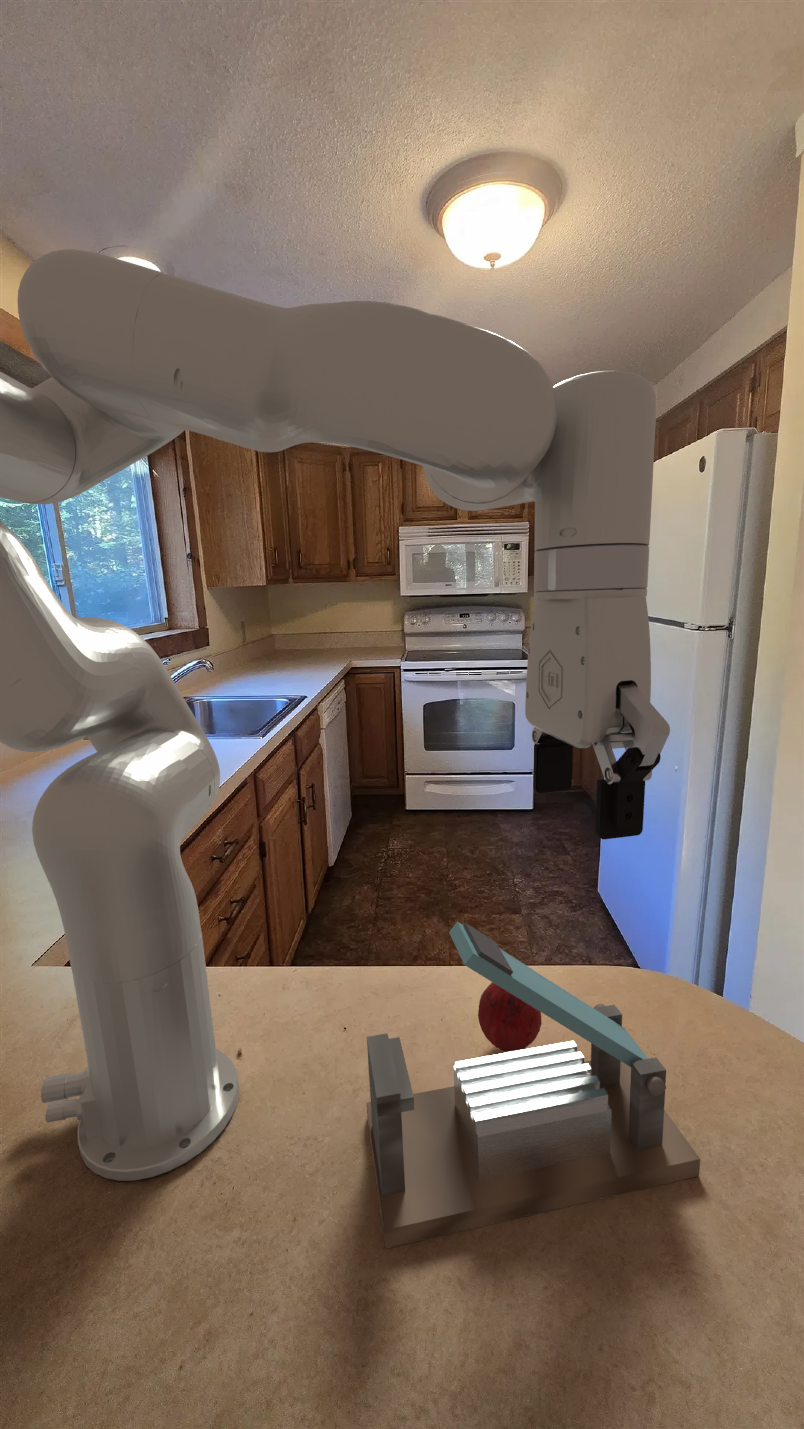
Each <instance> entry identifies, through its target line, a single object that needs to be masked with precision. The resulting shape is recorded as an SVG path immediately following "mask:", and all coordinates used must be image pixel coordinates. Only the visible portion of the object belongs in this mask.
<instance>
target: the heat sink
mask: <svg viewBox="0 0 804 1429" xmlns="http://www.w3.org/2000/svg"><path fill="white" fill-rule="evenodd" d="M584 1062H585V1056H584V1055H583V1053H582V1051H578V1045H577V1044H576V1042H575V1040H570V1041H569V1040H568V1041H565V1042H558V1043H553V1044H548V1045H543V1046H536V1047H530V1048H525V1049H523V1050H519V1051H513V1052H507V1051H506V1052H503V1053H498V1054H492V1055H485V1056H480V1057H475V1058H470V1059H464V1060H458V1061H455V1062H454V1065H453V1085H454V1095H455V1107H456V1111H457V1114H458V1117H459V1120H460V1123H461V1126H462V1130H463V1133H464V1136H465V1139H466V1142H467V1145H468V1148H469V1152H470V1155H471V1158H472V1161H473V1164H474V1167H475V1171H476V1174H477V1177H478V1180H479V1181H482V1180H487V1179H491V1178H496V1177H501V1176H505V1175H510V1174H514V1173H519V1172H524V1171H528V1170H533V1169H537V1168H542V1167H547V1166H551V1165H556V1164H560V1163H565V1162H570V1161H574V1160H579V1159H583V1158H588V1157H593V1156H597V1155H602V1154H606V1153H610V1140H611V1108H610V1107H609V1105H608V1094H607V1092H606V1091H605V1089H604V1088H602V1089H600V1081H599V1080H598V1078H597V1076H596V1075H594V1076H592V1069H591V1067H590V1065H589V1064H588V1063H586V1064H584Z"/></svg>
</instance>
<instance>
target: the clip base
mask: <svg viewBox="0 0 804 1429" xmlns="http://www.w3.org/2000/svg"><path fill="white" fill-rule="evenodd" d="M593 1008H594V1009H595V1010H597V1011H599V1012H600V1013H602V1014H603V1015H605V1016H606V1017H608V1018H610V1019H611V1020H613V1021H614V1022H616V1023H617V1024H619V1025H620V1026H622V1027H623V1013H622V1012H621V1011H620V1010H619V1009H618V1007H617V1005H616V1004H610V1005H606V1004H604V1003H597V1004H596V1005H594V1007H593ZM400 1038H401V1037H400V1036H398V1037H396V1036H395V1037H391V1038H389V1033H388V1032H386V1033H382V1034H375V1035H369V1036H368V1035H367V1036H366V1047H367V1062H368V1064H367V1065H368V1081H369V1091H370V1092H369V1093H370V1094H369V1096H370V1101H369V1102H366V1114H367V1116H366V1118H367V1125H368V1126H367V1127H368V1132H369V1139H370V1148H371V1153H372V1160H373V1169H374V1175H375V1176H374V1177H375V1183H376V1190H377V1196H378V1205H379V1211H380V1219H381V1226H382V1234H383V1240H384V1246H385V1249H388V1248H389V1249H390V1248H394V1247H397V1246H403V1245H407V1244H410V1243H414V1242H421V1241H424V1240H429V1239H432V1238H436V1237H437V1238H438V1237H441V1236H446V1235H448V1234H449V1235H450V1234H455V1233H458V1232H462V1231H467V1230H471V1229H475V1228H476V1229H477V1228H480V1227H485V1226H488V1225H489V1226H490V1225H493V1224H497V1223H502V1222H506V1221H511V1220H515V1219H519V1218H523V1217H528V1216H533V1215H536V1214H541V1213H545V1212H550V1211H553V1210H558V1209H563V1208H566V1207H571V1206H576V1205H579V1204H584V1203H587V1202H589V1203H590V1202H593V1201H596V1200H597V1201H598V1200H602V1199H606V1198H610V1197H613V1196H614V1197H615V1196H619V1195H623V1194H628V1193H632V1192H635V1191H641V1190H644V1189H649V1188H654V1187H657V1186H662V1185H667V1184H670V1183H674V1182H679V1181H683V1180H688V1179H693V1178H696V1177H700V1166H701V1158H700V1157H699V1155H698V1154H697V1153H696V1151H695V1150H694V1148H693V1147H692V1146H691V1144H690V1143H689V1142H688V1140H687V1139H686V1138H685V1136H684V1134H683V1133H682V1132H681V1130H680V1129H679V1127H678V1126H677V1125H676V1123H675V1122H674V1121H673V1120H672V1118H671V1116H670V1115H669V1114H668V1113H667V1111H666V1110H665V1100H666V1089H667V1086H666V1083H667V1082H666V1081H667V1080H666V1079H667V1069H666V1067H665V1066H664V1065H663V1064H662V1062H661V1061H660V1060H659V1059H658V1058H657V1056H654V1057H651V1058H650V1057H648V1059H644V1060H639V1061H634V1062H631V1067H630V1066H628V1065H626V1064H625V1063H623V1062H621V1061H620V1060H618V1059H617V1058H615V1057H613V1056H612V1055H610V1054H608V1053H607V1052H605V1051H604V1050H602V1049H600V1048H599V1047H597V1046H595V1045H594V1044H592V1043H591V1042H590V1043H591V1045H590V1060H587V1061H584V1064H586V1063H588V1064H589V1065H590V1067H591V1069H592V1076H594V1075H596V1076H597V1078H598V1080H599V1081H600V1089H602V1088H604V1089H605V1091H606V1092H607V1094H608V1105H609V1107H610V1108H611V1140H610V1153H606V1154H602V1155H597V1156H593V1157H588V1158H583V1159H579V1160H574V1161H570V1162H565V1163H560V1164H556V1165H551V1166H547V1167H542V1168H537V1169H533V1170H528V1171H524V1172H519V1173H514V1174H510V1175H505V1176H501V1177H496V1178H491V1179H487V1180H482V1181H479V1180H478V1177H477V1174H476V1171H475V1167H474V1164H473V1161H472V1158H471V1155H470V1152H469V1148H468V1145H467V1142H466V1139H465V1136H464V1133H463V1130H462V1126H461V1123H460V1120H459V1117H458V1114H457V1111H456V1107H455V1095H454V1086H449V1087H444V1088H438V1089H432V1090H427V1091H422V1092H417V1093H413V1089H412V1084H411V1083H412V1082H411V1080H410V1076H409V1072H408V1071H409V1070H408V1069H407V1068H408V1067H407V1062H406V1058H405V1055H404V1050H403V1045H402V1042H401V1039H400Z"/></svg>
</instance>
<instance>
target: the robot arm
mask: <svg viewBox="0 0 804 1429" xmlns="http://www.w3.org/2000/svg"><path fill="white" fill-rule="evenodd" d="M17 313H18V318H19V319H18V320H19V323H20V327H21V331H22V334H23V336H24V339H25V341H26V343H27V345H28V347H29V348H30V351H31V353H32V354H33V356H34V357H35V359H36V360H37V361H38V363H39V364H40V366H41V367H42V369H44V370H45V371H46V372H47V373H48V374H49V375H50V377H49V378H47V379H46V380H44V381H43V382H41V383H39V384H38V385H36V386H34V387H29V386H27V385H26V384H23V383H21V382H20V381H18V380H17V379H15V378H13V377H11V376H9V375H8V374H6V373H4V372H2V371H0V498H1V499H2V498H3V499H7V500H10V501H14V502H18V503H23V504H28V505H29V504H30V505H50V504H56V503H61V502H64V501H67V500H71V499H72V498H75V497H77V496H78V495H81V494H82V493H84V492H86V491H88V490H90V489H91V488H94V487H95V486H96V485H98V484H100V483H101V482H103V481H105V480H107V479H109V478H111V477H113V476H114V475H116V474H117V473H119V472H122V471H123V470H125V469H127V468H128V467H130V466H131V465H133V464H136V462H139V461H140V460H143V458H146V457H147V456H149V455H151V454H153V453H154V452H156V451H157V450H159V449H161V448H162V447H163V446H165V445H167V444H168V443H169V442H171V441H173V440H175V439H176V438H177V437H178V436H180V435H182V433H183V432H185V431H186V430H187V431H190V432H193V433H196V434H200V435H203V436H207V437H210V438H214V439H216V440H219V441H223V442H225V443H230V444H233V445H235V446H239V447H242V448H245V449H249V450H253V451H256V452H262V453H277V452H282V451H284V450H286V449H290V448H291V447H293V446H296V445H300V444H307V443H326V444H327V443H328V444H336V445H342V446H348V447H351V448H352V447H353V448H356V449H361V450H365V451H370V452H374V453H378V454H381V455H384V456H388V457H390V458H391V457H392V458H395V459H399V460H403V461H406V462H409V463H413V464H416V465H418V466H422V470H423V473H424V477H425V479H426V482H427V485H428V487H429V488H430V489H431V491H432V492H433V494H435V496H436V497H437V498H438V499H439V500H440V501H442V502H443V503H445V504H446V505H448V506H451V507H453V508H455V509H458V510H462V511H469V512H471V511H472V512H473V511H475V512H476V511H477V512H478V511H486V510H487V511H488V510H492V509H498V508H504V507H508V506H515V505H519V504H527V503H532V502H534V557H533V558H534V560H533V562H534V563H533V566H534V567H533V568H534V569H533V577H534V578H533V600H534V601H535V603H534V608H533V613H532V619H531V625H530V632H529V633H530V634H529V641H528V653H527V666H526V667H527V668H526V683H525V704H524V706H525V710H524V712H525V713H524V714H525V718H526V720H527V721H528V723H529V724H530V725H531V726H533V729H532V731H531V739H532V742H533V744H534V745H533V786H532V787H533V791H535V792H536V793H538V794H544V793H553V792H562V791H563V792H564V791H569V790H571V789H572V786H573V754H574V753H573V751H574V748H577V749H587V748H590V747H591V746H592V747H593V749H594V752H595V755H596V758H597V761H598V764H599V767H600V770H601V773H602V775H603V778H604V779H603V778H602V779H597V780H596V800H595V801H596V803H595V806H596V807H595V829H594V830H595V831H594V833H595V835H596V836H597V837H599V839H601V840H611V839H618V838H626V837H633V836H634V837H637V836H640V835H641V834H642V833H643V830H644V814H645V813H644V811H645V795H646V781H649V780H651V778H652V776H653V770H654V769H655V768H656V767H657V765H659V764H660V762H661V758H662V757H661V753H662V751H663V749H664V746H665V744H666V742H667V740H668V738H669V736H670V733H671V727H670V724H669V723H668V721H667V720H666V718H664V716H662V715H661V713H660V712H659V711H658V710H657V709H656V708H655V707H654V705H653V704H652V703H651V693H652V691H651V690H652V662H651V658H652V657H651V653H652V652H651V635H650V622H649V610H648V603H647V595H648V582H649V581H648V580H649V560H650V539H651V519H652V518H651V517H652V500H653V483H654V463H655V462H654V461H655V459H654V458H655V444H656V442H655V441H656V440H655V439H656V425H657V424H656V421H657V396H656V395H657V394H656V391H655V389H654V387H653V385H652V383H651V382H650V381H649V379H647V378H646V377H644V376H643V375H641V374H639V373H636V372H631V371H627V370H626V371H625V370H600V371H593V372H588V373H584V374H579V375H576V376H573V377H570V378H567V379H564V380H562V381H560V382H558V383H557V384H555V385H553V383H552V380H551V378H550V376H549V375H548V373H547V371H546V370H545V369H544V367H543V366H542V364H541V363H540V362H539V361H538V360H537V359H536V358H535V357H534V356H533V355H532V354H531V353H530V352H528V351H527V349H524V348H523V347H521V346H520V345H518V344H516V343H515V342H513V341H512V340H510V339H507V338H505V337H503V336H501V335H499V334H497V333H494V332H492V331H489V330H486V329H483V328H481V327H477V326H475V325H471V324H468V323H464V322H462V321H458V320H455V319H451V318H448V317H446V316H442V315H439V314H436V313H432V312H429V311H426V310H422V309H418V308H414V307H412V306H411V307H410V306H407V305H404V304H396V303H390V302H384V301H377V300H376V301H374V300H372V301H371V300H352V301H341V302H340V301H339V302H324V303H310V304H309V303H308V304H303V305H299V306H294V307H293V306H292V307H284V306H283V307H282V306H278V305H275V304H274V305H273V304H270V303H266V302H262V301H259V300H255V299H252V298H248V297H245V296H242V295H239V294H234V293H231V292H228V291H225V290H221V289H219V288H215V287H212V286H208V285H204V284H202V283H198V282H195V281H191V280H189V279H184V278H181V277H178V276H176V275H171V274H169V273H166V272H162V271H159V270H156V269H153V268H148V267H147V266H146V267H145V266H142V265H139V264H135V263H132V262H129V261H126V260H123V259H118V258H115V257H112V256H110V255H109V256H108V255H105V254H101V253H98V252H92V251H86V250H81V249H59V250H54V251H50V252H48V253H46V254H43V255H41V256H40V257H38V258H37V259H35V260H34V261H33V262H32V263H30V265H29V266H28V268H27V269H26V271H25V272H24V274H23V276H22V277H21V279H20V281H19V286H18V290H17ZM86 738H87V739H88V740H89V742H90V743H91V745H92V746H93V748H94V749H95V751H96V752H94V753H92V754H90V755H88V756H86V757H84V758H81V759H80V760H79V761H77V762H75V763H74V764H71V766H69V767H68V768H66V769H65V770H64V771H63V772H61V773H60V774H59V775H57V777H55V778H54V779H53V781H52V782H51V783H50V784H49V785H48V787H47V788H46V789H45V790H44V792H42V795H41V796H40V798H39V800H38V802H37V804H36V807H35V810H34V812H33V818H32V827H31V828H32V829H31V830H32V831H31V833H32V840H33V845H34V848H35V853H36V856H37V858H38V860H39V862H40V865H41V867H42V868H41V869H42V870H43V872H44V874H45V877H46V879H47V881H48V883H49V886H50V887H51V891H52V894H53V896H54V899H55V901H56V905H57V908H58V912H59V914H60V915H59V916H60V917H61V922H62V926H63V932H64V936H65V941H66V947H67V953H68V958H69V959H68V960H69V963H70V968H71V973H72V978H73V984H74V989H75V995H76V996H75V997H76V1001H77V1007H78V1013H79V1019H80V1026H81V1030H82V1036H83V1042H84V1048H85V1053H86V1059H87V1065H88V1066H86V1068H85V1069H84V1071H82V1072H75V1073H72V1072H67V1073H61V1074H55V1075H54V1074H53V1075H50V1076H47V1077H45V1078H44V1080H43V1082H42V1085H41V1092H40V1099H41V1102H42V1103H43V1104H48V1105H47V1106H46V1108H45V1109H46V1110H45V1121H46V1123H54V1122H58V1121H59V1122H60V1121H65V1120H66V1119H71V1118H77V1120H78V1121H79V1122H78V1125H77V1144H78V1150H79V1155H80V1157H81V1159H82V1162H84V1164H85V1166H86V1167H87V1168H89V1169H90V1170H91V1172H92V1173H94V1174H96V1175H99V1176H101V1177H103V1178H105V1179H108V1180H113V1181H119V1182H122V1181H124V1182H125V1181H139V1180H143V1179H144V1180H145V1179H148V1178H153V1177H156V1176H159V1175H162V1174H164V1173H167V1172H170V1171H172V1170H175V1169H176V1168H178V1167H180V1166H182V1165H184V1164H185V1163H187V1162H188V1161H190V1160H193V1158H195V1157H196V1156H197V1155H199V1154H201V1153H202V1152H203V1151H204V1150H205V1149H206V1148H207V1147H209V1145H211V1144H212V1143H213V1142H214V1141H215V1140H216V1138H217V1137H218V1136H220V1134H221V1133H222V1131H223V1130H224V1129H225V1128H226V1126H227V1124H228V1123H229V1121H230V1120H231V1118H232V1116H233V1114H234V1112H235V1109H236V1107H237V1105H238V1100H239V1094H240V1086H239V1085H240V1084H239V1076H238V1070H237V1068H236V1065H235V1063H234V1062H233V1060H232V1059H231V1058H230V1057H229V1056H228V1055H227V1054H226V1053H224V1052H223V1051H221V1050H220V1049H218V1048H217V1047H216V1039H215V1038H216V1037H215V1032H214V1024H213V1023H214V1022H213V1015H212V1007H211V998H210V991H209V982H208V981H209V980H208V972H207V965H206V957H205V948H204V941H203V939H204V938H203V931H202V928H201V918H200V913H199V912H200V910H199V907H198V901H197V896H196V892H195V888H194V886H193V884H192V881H191V879H190V877H189V875H188V873H187V871H186V867H185V866H184V863H183V860H182V856H181V843H182V840H183V838H185V837H186V835H188V832H189V831H190V830H191V829H192V828H193V827H194V826H195V825H196V824H197V823H198V822H199V821H200V820H201V819H202V818H203V817H204V815H205V814H206V813H207V812H208V811H209V809H210V808H211V807H212V806H213V804H214V802H215V800H216V798H217V796H218V793H219V789H220V783H221V769H220V765H219V761H218V758H217V756H216V753H215V751H214V749H213V747H212V744H211V742H210V740H209V739H208V737H207V735H206V734H205V732H204V730H203V729H202V727H201V725H200V723H199V722H198V720H197V718H196V717H195V715H194V713H193V711H192V710H191V708H190V707H189V705H188V703H187V700H186V699H185V698H184V696H183V694H182V693H181V691H180V690H179V688H178V686H177V685H176V682H175V681H174V679H173V678H172V676H171V674H170V672H169V671H168V669H167V668H166V666H165V665H164V663H163V661H162V660H161V658H160V657H159V655H158V654H157V653H156V651H155V650H154V648H152V646H151V645H150V644H149V643H148V642H147V641H146V640H145V639H144V638H143V637H141V636H140V634H138V633H137V632H135V631H134V630H133V629H131V628H129V627H128V626H126V625H124V624H122V623H120V622H117V621H114V620H112V619H111V620H110V619H106V618H100V617H75V616H73V615H72V613H71V612H70V611H69V610H68V609H67V608H66V607H65V605H64V604H63V603H62V601H61V600H60V598H59V597H58V595H57V594H56V592H55V590H53V588H52V587H51V585H50V584H49V582H48V580H47V579H46V577H45V576H44V574H43V572H42V570H41V568H40V566H39V565H38V563H37V561H36V560H35V558H34V556H33V555H32V554H31V552H30V551H29V549H28V548H27V547H26V545H24V543H23V542H22V541H21V540H20V539H19V538H18V537H17V535H16V534H14V532H13V531H12V530H11V529H10V528H9V527H8V526H7V524H5V523H4V522H3V521H2V520H1V519H0V743H1V744H3V745H5V746H7V747H9V748H11V749H13V750H16V751H20V752H25V753H26V752H27V753H36V752H37V753H39V752H40V753H41V752H48V751H51V750H57V749H60V748H62V747H65V746H68V745H71V744H74V743H76V742H78V741H81V740H84V739H86ZM613 749H615V750H616V749H625V751H624V752H623V754H622V755H621V756H620V757H619V758H618V759H617V758H616V756H615V753H614V750H613ZM74 1097H79V1098H74ZM69 1098H74V1099H69Z"/></svg>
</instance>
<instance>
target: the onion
mask: <svg viewBox="0 0 804 1429" xmlns="http://www.w3.org/2000/svg"><path fill="white" fill-rule="evenodd" d="M478 1003H479V1005H478V1011H477V1012H478V1013H477V1017H478V1018H477V1019H478V1023H479V1026H480V1029H481V1031H482V1033H483V1035H484V1037H485V1039H487V1040H488V1041H489V1042H490V1043H491V1045H492V1046H494V1047H495V1048H497V1049H499V1050H501V1051H503V1052H506V1053H507V1052H513V1051H519V1050H524V1049H527V1048H528V1047H529V1046H531V1044H532V1043H533V1042H534V1041H535V1040H536V1038H537V1037H538V1035H539V1032H540V1031H541V1026H542V1024H543V1023H542V1012H540V1011H538V1010H537V1009H535V1008H534V1007H532V1006H530V1005H529V1004H527V1003H525V1002H524V1001H522V1000H521V999H519V998H517V997H516V996H514V995H512V994H511V993H509V992H508V991H506V990H504V989H503V988H501V987H499V986H498V985H496V984H495V983H493V982H490V984H489V985H488V986H487V987H486V988H485V989H484V991H483V992H482V994H481V995H480V999H479V1001H478Z"/></svg>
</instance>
